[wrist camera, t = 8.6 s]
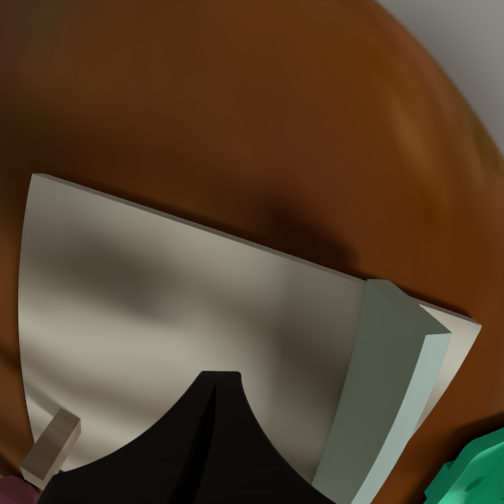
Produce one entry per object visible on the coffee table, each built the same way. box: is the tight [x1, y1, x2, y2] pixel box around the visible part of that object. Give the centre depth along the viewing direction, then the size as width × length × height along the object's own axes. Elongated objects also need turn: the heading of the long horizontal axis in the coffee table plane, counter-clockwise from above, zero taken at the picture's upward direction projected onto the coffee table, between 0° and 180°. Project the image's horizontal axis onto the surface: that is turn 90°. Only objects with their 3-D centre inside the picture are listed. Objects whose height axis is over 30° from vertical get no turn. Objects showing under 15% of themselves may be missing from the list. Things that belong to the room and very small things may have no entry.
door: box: [311, 279, 453, 504], centre depth 11 cm, size 2×16×5 cm, turn 176°
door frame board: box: [18, 173, 482, 490], centre depth 12 cm, size 22×24×6 cm
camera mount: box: [423, 428, 504, 504], centre depth 13 cm, size 12×8×10 cm, turn 178°
